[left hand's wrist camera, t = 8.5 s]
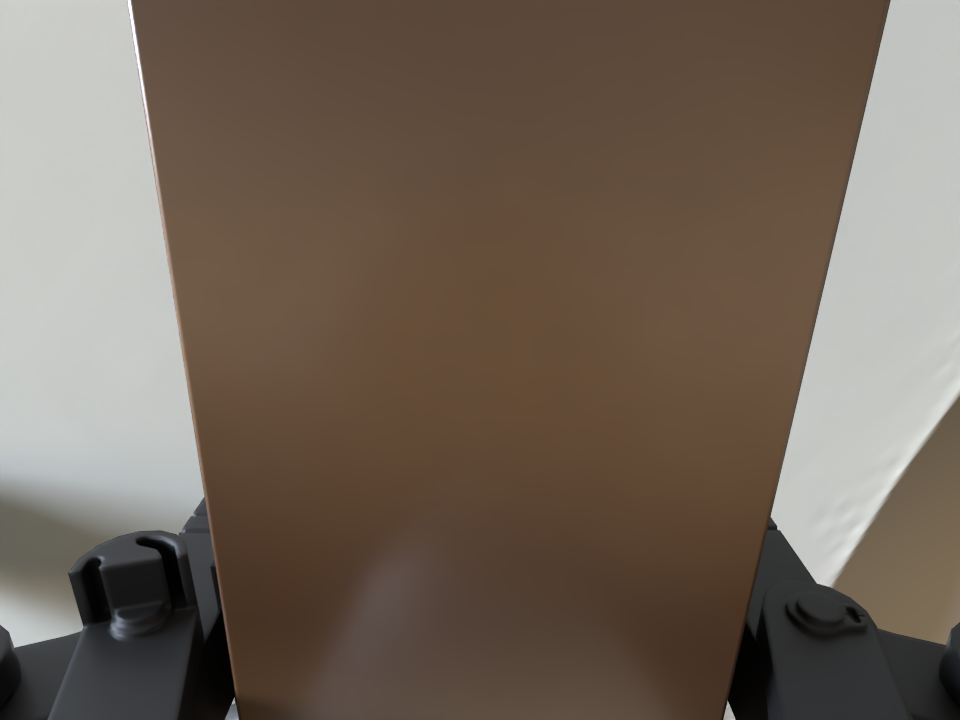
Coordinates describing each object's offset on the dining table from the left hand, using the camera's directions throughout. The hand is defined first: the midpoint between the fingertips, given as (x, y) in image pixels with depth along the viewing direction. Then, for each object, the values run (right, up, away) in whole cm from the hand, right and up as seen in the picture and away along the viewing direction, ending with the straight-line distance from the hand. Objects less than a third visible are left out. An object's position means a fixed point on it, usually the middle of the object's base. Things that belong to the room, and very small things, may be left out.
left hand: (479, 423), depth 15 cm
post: (+1, +29, -11) cm, 31 cm away
